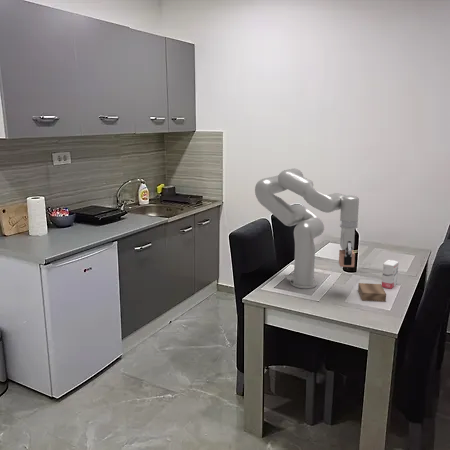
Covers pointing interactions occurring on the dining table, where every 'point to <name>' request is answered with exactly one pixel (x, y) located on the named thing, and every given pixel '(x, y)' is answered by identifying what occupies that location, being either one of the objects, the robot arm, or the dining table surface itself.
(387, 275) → the ink box
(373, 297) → the walnut block
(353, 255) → the clay cube
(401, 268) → the dining table surface
